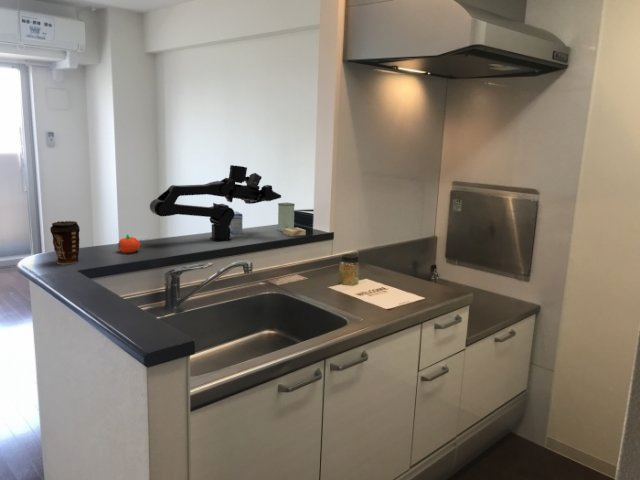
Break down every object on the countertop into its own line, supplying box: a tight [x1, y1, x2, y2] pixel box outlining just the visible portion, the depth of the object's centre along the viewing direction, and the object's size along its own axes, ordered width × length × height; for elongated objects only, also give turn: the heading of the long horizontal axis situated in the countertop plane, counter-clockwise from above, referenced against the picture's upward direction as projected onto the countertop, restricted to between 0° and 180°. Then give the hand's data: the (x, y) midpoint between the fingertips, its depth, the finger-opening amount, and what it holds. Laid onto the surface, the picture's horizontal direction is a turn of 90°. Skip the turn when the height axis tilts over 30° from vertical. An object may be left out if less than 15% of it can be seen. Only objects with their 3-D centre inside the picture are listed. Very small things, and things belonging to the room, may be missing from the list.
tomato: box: [117, 234, 141, 254], centre depth 185 cm, size 7×8×6 cm
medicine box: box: [229, 211, 244, 235], centre depth 226 cm, size 8×4×9 cm, turn 25°
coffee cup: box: [49, 220, 81, 266], centre depth 168 cm, size 9×8×13 cm
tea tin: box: [277, 202, 295, 232], centre depth 233 cm, size 5×5×12 cm
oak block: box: [282, 227, 307, 237], centre depth 226 cm, size 7×7×2 cm
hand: (275, 197), depth 222 cm, fingers open, 9 cm apart
